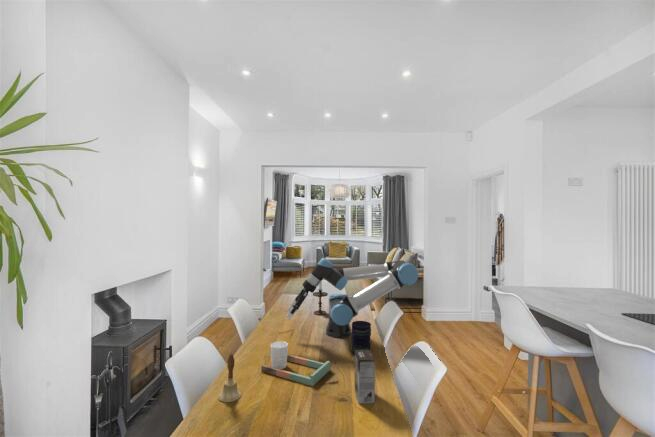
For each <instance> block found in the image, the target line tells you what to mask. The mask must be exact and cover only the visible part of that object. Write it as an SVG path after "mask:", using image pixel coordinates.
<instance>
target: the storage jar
mask: <svg viewBox="0 0 655 437" xmlns="http://www.w3.org/2000/svg"><path fill="white" fill-rule="evenodd" d="M371 325H372V323H370V322H369V321H366V320H356V321H355V320H354V321H351V335H352V336H351V355H352V356H353V357H355V350H370V351H371V350H372V343H371V336H372V329H371V328H372V326H371ZM371 352H372V351H371Z"/></svg>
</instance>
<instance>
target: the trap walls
mask: <svg viewBox="0 0 655 437" xmlns="http://www.w3.org/2000/svg"><path fill="white" fill-rule="evenodd" d="M294 356H295V357H294V362H293V363H295V364H298V363H299V364H298V365H303V366H306V367H308V366H307V360H308V358H305V357H300V356H296V355H294ZM291 372H292V371H288V370H284V369H277V370H276V375H275V376H277V377H280V378H282V379H287V380H290V373H291Z"/></svg>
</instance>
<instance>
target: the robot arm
mask: <svg viewBox="0 0 655 437" xmlns="http://www.w3.org/2000/svg"><path fill="white" fill-rule="evenodd" d="M333 264H334V263H332V262H331V261H330V260H328V259H327V258H325V257H322V258H321V259H320V260H319V261H318V262H317V264H316V265H315V266H314V268H313V269H312V271H311V272H310V273H308V276H307V278H306V279H305V280H304V281H303V283H302V287H303V288H302V289H301V290H300V291H299V293H298V294H297V295H296V296H295V298H294V300H293V301H292V302H291V304H290V305H289V307H288V309H287V310H288V311H289V312H287V315H285V318H287V319H288V320H291V319H292V317H293V316H294V315H295V313H296V312H297V310H298V311H299V310H300V308H301V305H302V304H303V302H304V301H305V299H306V298H307V297H308V296H309V292H310V293H311V294H313V293H314V292H316V289H317V287H319V284H320V283H321V281H322V282H323V280H325V281H326V282H327V283H329V284H330V285H331V286H333V287H335V288H336V289H338V290H339V291H342V290H343V289H345V287H346V285H347V284H348V281H357V280H366V279H369V280H370V279H377V278H379V279H378V280H376V281H375V282H373V283H371V284H369V285H368V286H366V287H365V288H363V289H361V290H360V291H358V292H357V293H355V294H353V295H352V296H349V295H348V294H345V293H332V294H329V298H328V322H327V324H326V327H325V334H326V335H327V336H329V337H332V338H345V337H349V336H350V335H352V326H351V324H350V323H352V320H353V318H355V317H357V316H358V315H359V312H360V311H361V310H362V309H364V308H366V307H367V306H369V305H371V304H372V303H374V302H375V301H377V300H379V299H380V298H383V297H384V296H385V295H387V294H389V293H391V292H392V291H393V290H395V289H398V290H400V289H402V288H404V287H406V286H411V285H414V284H415V283H417V281H418V278H419V271H418V268H417V267H416V265H414V264H412V263H410V262H408V261H406V260H394V261H387V262H384V263H383V264H375V265H363V266H354V267H343V268H333V266H334V265H333Z"/></svg>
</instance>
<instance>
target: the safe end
mask: <svg viewBox="0 0 655 437" xmlns="http://www.w3.org/2000/svg"><path fill="white" fill-rule="evenodd" d="M307 359H308V358H307ZM306 367H309V368H314V369H316V370H315V371H314V372H313V373H311V374H310V377H309V376H306V375H303V374H299V373H295V372H292V371H290V372H291V373H290V379H289V380H290V381H293V382H297V383H301V384H304V385H308V386H311V387H314V386H315V384H317V383H318V382H319V381H320V380H321V379H322V378H323V377H324V376H325V375H327V373H329V371H330V370H331V361H330V360H327V361H325V362H321V361H317V360H312V359H308V360H307V366H306Z"/></svg>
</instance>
